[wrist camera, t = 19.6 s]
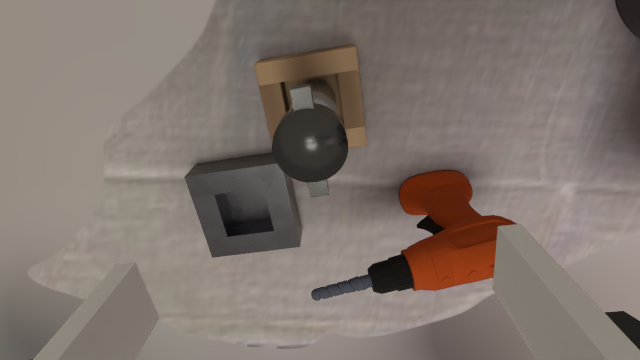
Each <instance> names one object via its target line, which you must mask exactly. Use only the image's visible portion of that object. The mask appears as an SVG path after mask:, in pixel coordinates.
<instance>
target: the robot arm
mask: <svg viewBox="0 0 640 360" xmlns="http://www.w3.org/2000/svg"><path fill="white" fill-rule="evenodd" d="M616 2H617V6H618V9H619V12H620V15H621V17H622V19H623V21H624V22H625V24H626V25H627V26H628V28H629V29H630V30H631V31H632V32H633V33H634V34H635V35H636V36H638V37H639V38H640V0H616ZM493 290H494V292H495V293H496V295H497V297H498V298H499V300H500V301H501V303H502V305H503V306H504V308H505V309H506V311H507V313H508V314H509V316H510V318H511V319H512V321H513V323H514V324H515V326H516V328H517V329H518V331H519V333H520V334H521V336H522V338H523V339H524V341H525V342H526V344H527V346H528V347H529V349H530V351H531V352H532V354H533V355H534V357H535V359H536V360H640V321H639V320H637V319H635V318H634V317H632V316H631V315H629V314H627V313H625V312H624V311H618V312H606V313H604V312H603V311H602V310H601V309H600V308H599V306H598V305H597V304H596V303H595V302H594V301H593V300H592V299H591V298H590V297H589V296H588V295H587V294H586V293H585V292H584V291H583V290H582V288H581V287H580V286H579V285H578V284H577V283H576V282H575V281H574V280H573V279H572V278H571V277H570V276H569V275H568V274H567V273H566V272H565V270H564V269H563V268H562V267H561V266H560V265H559V264H558V263H557V262H556V261H555V260H554V259H553V258H552V257H551V255H550V254H549V253H548V252H547V251H546V250H545V249H544V248H543V247H542V246H541V245H540V244H539V243H538V242H537V241H536V240H535V239H534V237H533V236H532V235H531V234H530V233H529V232H528V231H527V230H526V229H525V228H524V227H523V226H522V225H521V224H515V225H505V226H498V229H497V241H496V254H495V266H494V279H493ZM158 319H159V316H158V313H157V311H156V309H155V306H154V304H153V302H152V299H151V297H150V295H149V292H148V290H147V288H146V285H145V283H144V281H143V278H142V276H141V274H140V271H139V269H138V267H137V264H136V263H127V264H117V265H115V267H114V268H113V269H112V270H111V271H110V272H109V273H108V275H107V276H106V277H105V278H104V279H103V280H102V282H101V283H100V284H99V285H98V286H97V287H96V288H95V290H94V291H93V292H92V293H91V294H90V295H89V296H88V298H87V299H86V300H85V301H84V302H83V303H82V304H81V306H80V307H79V308H78V309H77V310H76V311H75V312H74V314H73V315H72V316H71V317H70V318H69V319H68V320H67V322H66V323H65V324H64V325H63V326H62V327H61V329H60V330H59V331H58V332H57V333H56V334H55V335H54V337H53V338H52V339H51V340H50V341H49V342H48V343H47V344H46V346H45V347H44V348H43V349H42V350H41V352H39V354H38V355H37V356H36V357H35V358H34V359H32V360H135V359H136V358H137V356H138V354H139V352H140V351H141V349H142V347H143V345H144V344H145V342H146V340H147V338H148V337H149V335H150V333H151V331H152V330H153V328H154V326H155V324H156V323H157V321H158Z"/></svg>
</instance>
